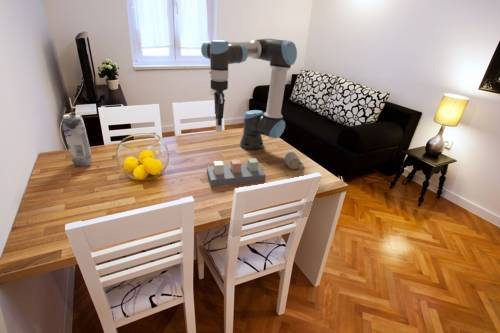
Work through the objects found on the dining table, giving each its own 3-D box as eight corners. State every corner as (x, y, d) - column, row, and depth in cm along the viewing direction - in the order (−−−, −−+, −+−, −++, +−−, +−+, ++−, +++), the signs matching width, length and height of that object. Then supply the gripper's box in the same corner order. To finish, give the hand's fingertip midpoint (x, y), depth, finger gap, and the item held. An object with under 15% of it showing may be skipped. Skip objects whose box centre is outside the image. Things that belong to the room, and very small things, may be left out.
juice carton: (92, 157, 155) (81, 110, 142) (92, 166, 147) (81, 117, 134) (74, 160, 151) (61, 112, 138) (73, 169, 143) (59, 119, 130)
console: (206, 173, 148) (206, 166, 146) (256, 168, 155) (257, 162, 153) (211, 187, 136) (211, 180, 134) (264, 181, 144) (265, 174, 142)
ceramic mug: (288, 170, 156) (290, 158, 152) (283, 163, 163) (285, 151, 159) (305, 169, 158) (308, 157, 155) (300, 163, 165) (302, 151, 162)
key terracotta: (230, 171, 146) (230, 160, 143) (238, 171, 147) (239, 159, 144) (232, 176, 142) (232, 164, 139) (240, 175, 143) (241, 163, 140)
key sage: (247, 170, 148) (247, 158, 145) (254, 169, 150) (255, 158, 146) (249, 174, 145) (250, 162, 141) (257, 173, 146) (258, 162, 143)
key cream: (213, 173, 143) (213, 161, 140) (221, 172, 145) (222, 160, 141) (215, 177, 140) (215, 165, 136) (223, 176, 141) (223, 164, 138)
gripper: (208, 76, 124) (208, 126, 135) (213, 82, 113) (213, 136, 124) (224, 76, 126) (223, 125, 137) (231, 82, 115) (229, 135, 126)
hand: (218, 130), depth 131 cm, fingers closed
